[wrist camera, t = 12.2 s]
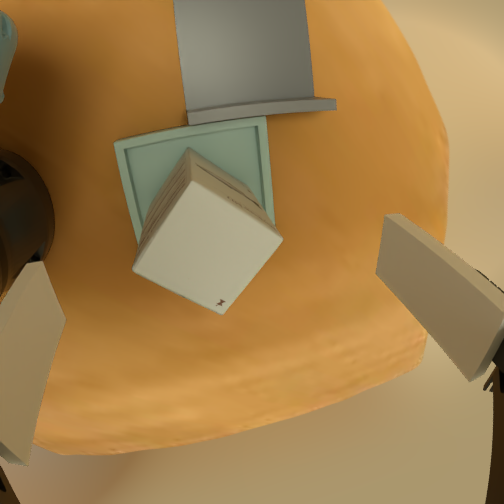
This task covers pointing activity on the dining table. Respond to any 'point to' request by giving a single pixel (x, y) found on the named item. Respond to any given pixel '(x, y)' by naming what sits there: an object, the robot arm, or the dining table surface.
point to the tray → (206, 144)
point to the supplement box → (204, 235)
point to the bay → (245, 59)
